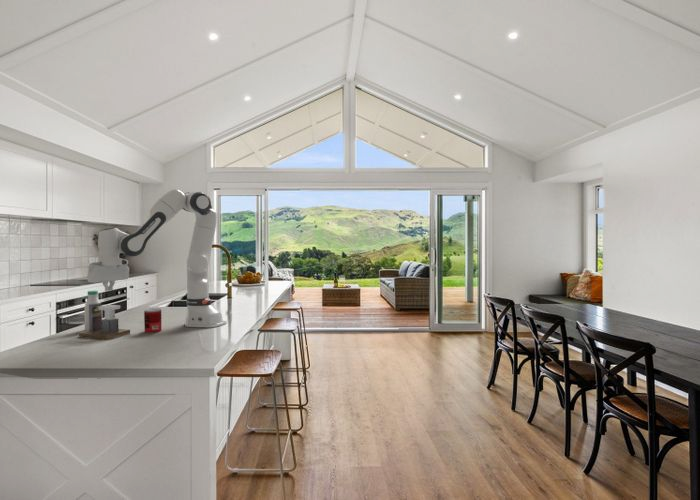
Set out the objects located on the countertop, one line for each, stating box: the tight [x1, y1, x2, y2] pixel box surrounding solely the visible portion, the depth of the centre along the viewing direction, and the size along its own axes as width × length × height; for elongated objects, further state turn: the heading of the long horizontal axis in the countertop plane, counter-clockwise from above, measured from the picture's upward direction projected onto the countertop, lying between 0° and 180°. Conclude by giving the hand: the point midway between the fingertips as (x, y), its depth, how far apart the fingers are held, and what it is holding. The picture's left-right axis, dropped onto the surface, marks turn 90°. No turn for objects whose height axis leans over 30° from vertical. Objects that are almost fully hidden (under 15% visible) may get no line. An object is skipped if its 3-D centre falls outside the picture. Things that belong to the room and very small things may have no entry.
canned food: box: [143, 307, 162, 334], centre depth 215 cm, size 8×8×11 cm
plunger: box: [96, 304, 121, 320], centre depth 206 cm, size 11×6×8 cm, turn 70°
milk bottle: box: [83, 290, 103, 331], centre depth 218 cm, size 8×8×20 cm
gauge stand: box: [78, 302, 131, 341], centre depth 206 cm, size 18×13×15 cm
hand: (108, 290), depth 204 cm, fingers closed
